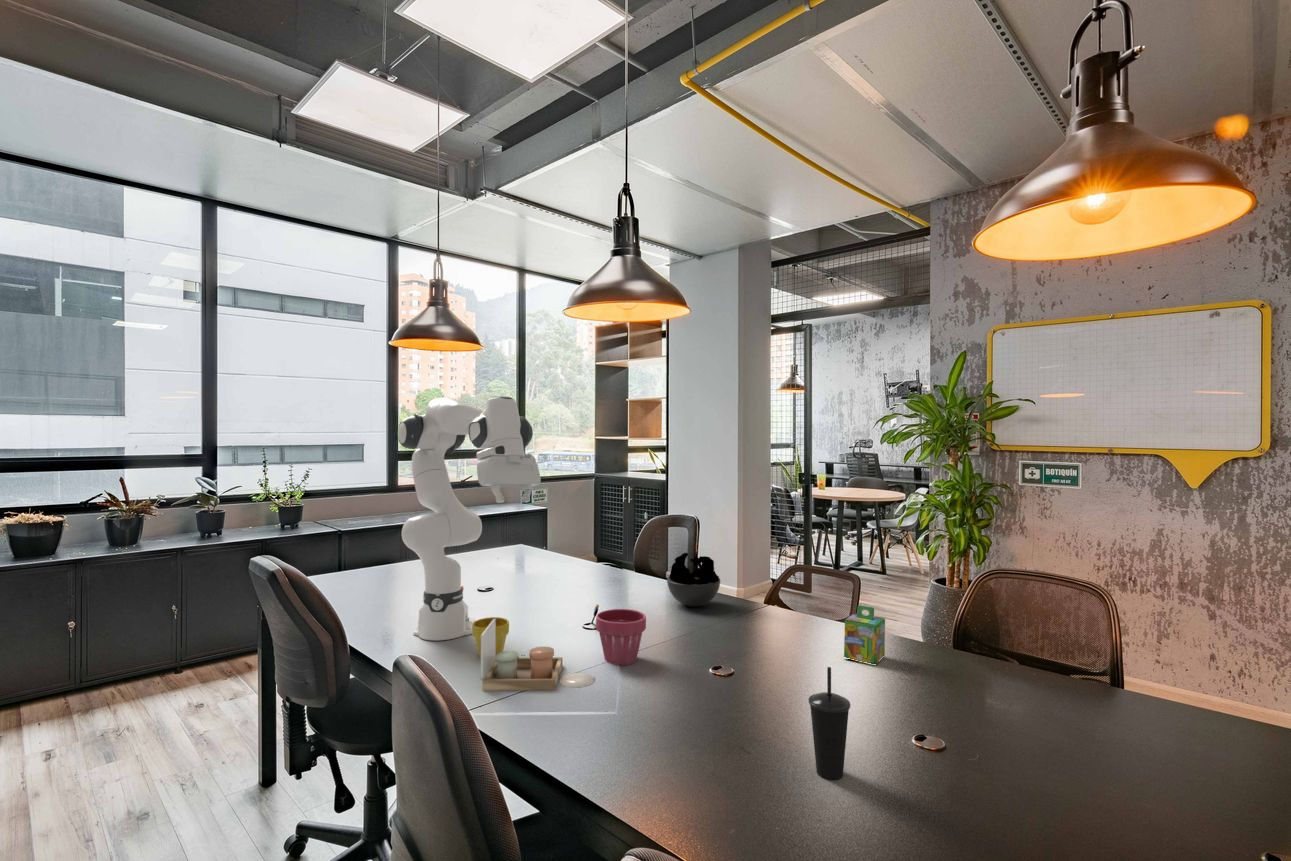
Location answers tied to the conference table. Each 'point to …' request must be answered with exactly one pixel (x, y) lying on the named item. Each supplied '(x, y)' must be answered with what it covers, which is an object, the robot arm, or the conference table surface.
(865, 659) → the chalk box
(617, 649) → the plant pot
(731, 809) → the conference table surface
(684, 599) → the coal bowl
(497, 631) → the plant pot
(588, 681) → the cream disc
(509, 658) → the sage pot
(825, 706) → the drinking cup
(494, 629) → the propped lid
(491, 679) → the brown wooden tray
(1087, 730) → the conference table surface
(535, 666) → the peach mushroom knob
